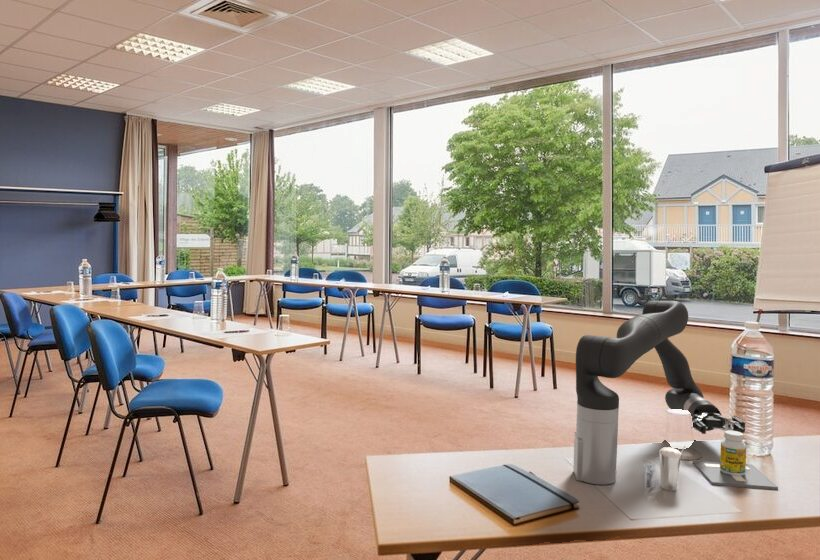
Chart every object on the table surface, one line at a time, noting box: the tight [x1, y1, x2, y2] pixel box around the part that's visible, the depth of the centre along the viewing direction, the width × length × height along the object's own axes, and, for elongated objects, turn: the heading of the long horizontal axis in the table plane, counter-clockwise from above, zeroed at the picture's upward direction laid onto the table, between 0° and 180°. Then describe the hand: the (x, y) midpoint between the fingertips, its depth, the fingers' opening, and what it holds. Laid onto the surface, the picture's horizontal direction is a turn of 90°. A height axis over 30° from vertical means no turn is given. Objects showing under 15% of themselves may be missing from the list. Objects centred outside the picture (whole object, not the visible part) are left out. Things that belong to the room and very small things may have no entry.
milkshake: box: [658, 445, 686, 492], centre depth 133 cm, size 4×5×10 cm
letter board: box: [692, 459, 779, 491], centre depth 142 cm, size 14×14×1 cm
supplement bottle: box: [719, 430, 747, 476], centre depth 142 cm, size 5×5×10 cm
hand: (722, 431), depth 150 cm, fingers open, 8 cm apart
